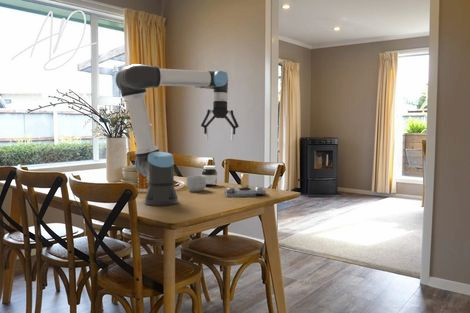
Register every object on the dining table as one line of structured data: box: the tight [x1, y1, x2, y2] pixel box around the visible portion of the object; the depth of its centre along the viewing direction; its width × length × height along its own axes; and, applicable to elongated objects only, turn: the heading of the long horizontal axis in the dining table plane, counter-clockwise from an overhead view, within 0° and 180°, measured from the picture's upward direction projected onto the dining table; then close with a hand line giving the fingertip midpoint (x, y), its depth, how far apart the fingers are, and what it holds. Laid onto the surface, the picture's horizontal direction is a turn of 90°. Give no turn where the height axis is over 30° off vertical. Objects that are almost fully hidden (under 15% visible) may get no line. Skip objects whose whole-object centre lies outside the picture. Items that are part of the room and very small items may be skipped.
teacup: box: [185, 174, 207, 193], centre depth 226 cm, size 14×11×8 cm
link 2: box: [233, 186, 267, 196], centre depth 213 cm, size 15×10×4 cm, turn 98°
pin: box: [240, 172, 250, 190], centre depth 212 cm, size 4×4×11 cm
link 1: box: [224, 187, 257, 198], centre depth 212 cm, size 15×10×4 cm, turn 98°
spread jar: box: [201, 165, 218, 188], centre depth 242 cm, size 12×11×12 cm
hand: (219, 140), depth 222 cm, fingers open, 13 cm apart
